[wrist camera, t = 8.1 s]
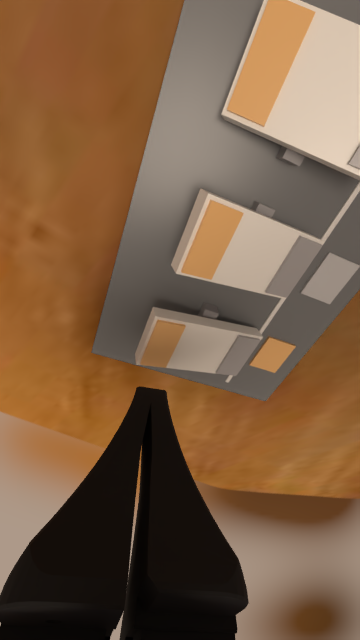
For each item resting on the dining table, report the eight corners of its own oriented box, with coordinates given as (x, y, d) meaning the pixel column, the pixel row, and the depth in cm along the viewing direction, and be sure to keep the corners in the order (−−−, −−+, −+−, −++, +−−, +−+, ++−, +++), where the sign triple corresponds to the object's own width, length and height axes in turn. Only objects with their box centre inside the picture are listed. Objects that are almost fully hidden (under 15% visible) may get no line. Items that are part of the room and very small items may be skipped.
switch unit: (520, 74, 12) (573, 60, 11) (262, 392, 24) (268, 410, 23) (225, -144, 9) (236, -210, 8) (94, 344, 21) (87, 361, 20)
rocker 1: (453, 82, 10) (476, 69, 9) (377, 188, 12) (389, 187, 11) (267, 4, 10) (268, -17, 9) (223, 119, 12) (220, 112, 11)
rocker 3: (256, 328, 19) (264, 338, 18) (231, 366, 21) (237, 377, 20) (152, 306, 16) (155, 318, 15) (134, 354, 18) (136, 366, 17)
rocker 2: (313, 235, 16) (327, 243, 15) (276, 291, 17) (287, 300, 17) (200, 188, 12) (210, 194, 11) (170, 265, 14) (177, 275, 13)
